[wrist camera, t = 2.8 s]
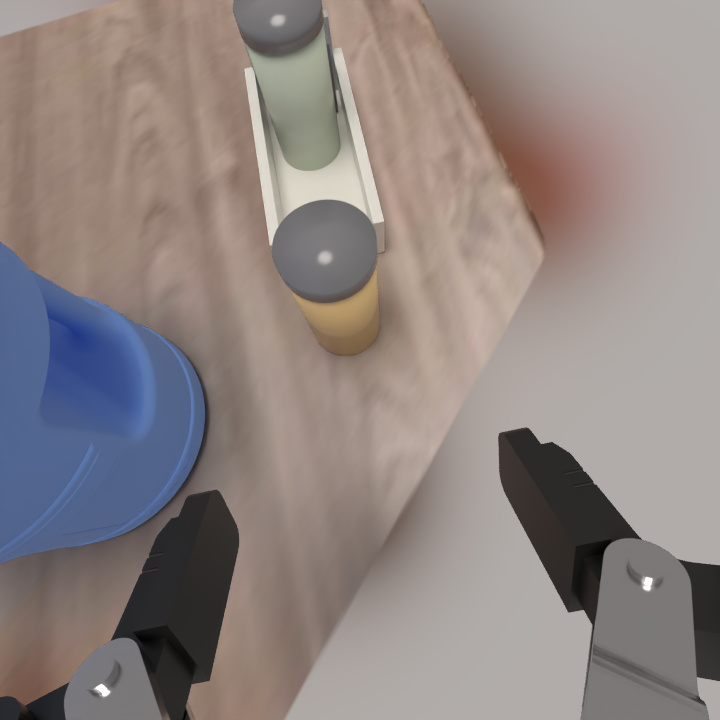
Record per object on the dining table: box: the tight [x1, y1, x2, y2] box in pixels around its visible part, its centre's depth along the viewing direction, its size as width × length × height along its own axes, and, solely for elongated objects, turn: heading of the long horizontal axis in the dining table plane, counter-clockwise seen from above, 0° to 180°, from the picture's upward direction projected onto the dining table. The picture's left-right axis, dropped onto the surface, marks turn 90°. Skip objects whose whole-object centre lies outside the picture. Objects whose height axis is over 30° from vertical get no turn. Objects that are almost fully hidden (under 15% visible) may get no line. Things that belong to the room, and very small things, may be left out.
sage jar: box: [233, 0, 341, 171], centre depth 29 cm, size 5×5×11 cm
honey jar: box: [272, 199, 380, 356], centre depth 25 cm, size 5×5×11 cm
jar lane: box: [244, 10, 385, 253], centre depth 31 cm, size 18×8×7 cm, turn 11°
